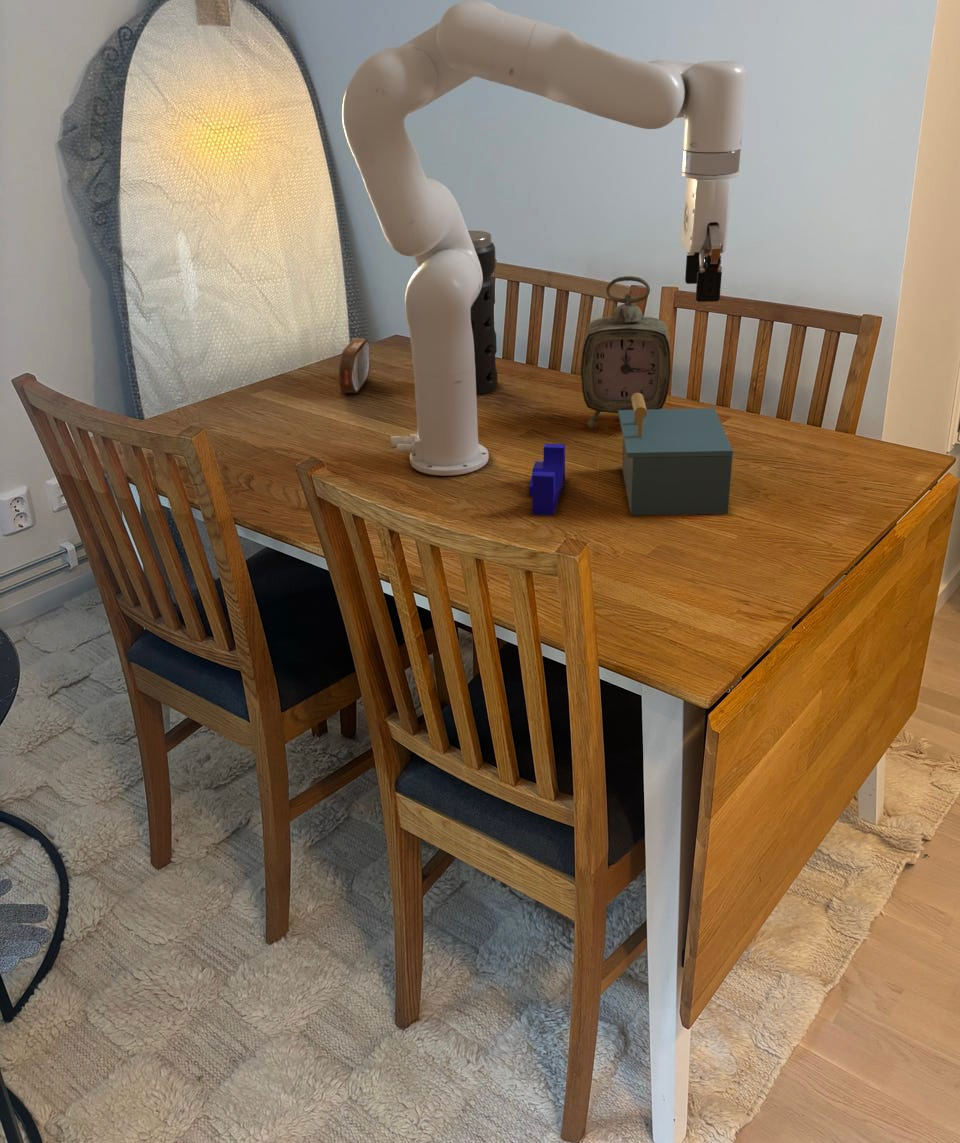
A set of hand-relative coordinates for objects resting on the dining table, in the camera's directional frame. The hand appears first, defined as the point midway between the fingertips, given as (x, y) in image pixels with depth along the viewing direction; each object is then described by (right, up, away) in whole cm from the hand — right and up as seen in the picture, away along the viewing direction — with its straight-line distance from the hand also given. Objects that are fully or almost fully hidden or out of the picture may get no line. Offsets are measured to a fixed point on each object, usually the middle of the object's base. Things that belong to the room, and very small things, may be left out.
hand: (701, 291), depth 152 cm
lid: (-3, -20, +3) cm, 20 cm away
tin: (-55, -4, +54) cm, 77 cm away
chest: (-3, -27, +8) cm, 29 cm away
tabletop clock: (-7, -14, +32) cm, 36 cm away
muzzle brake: (-33, -5, +51) cm, 61 cm away
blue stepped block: (-22, -29, +7) cm, 37 cm away
